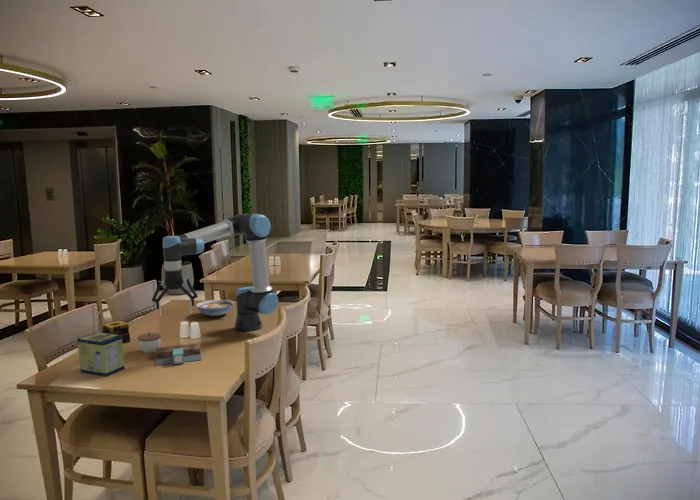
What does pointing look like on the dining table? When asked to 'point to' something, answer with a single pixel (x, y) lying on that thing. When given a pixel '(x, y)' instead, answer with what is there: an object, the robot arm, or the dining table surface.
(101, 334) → the protein box
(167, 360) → the mat
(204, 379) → the dining table surface
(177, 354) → the block
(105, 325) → the black yellow box
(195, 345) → the ledge
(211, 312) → the ramen bowl
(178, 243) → the robot arm
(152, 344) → the lidded jar
